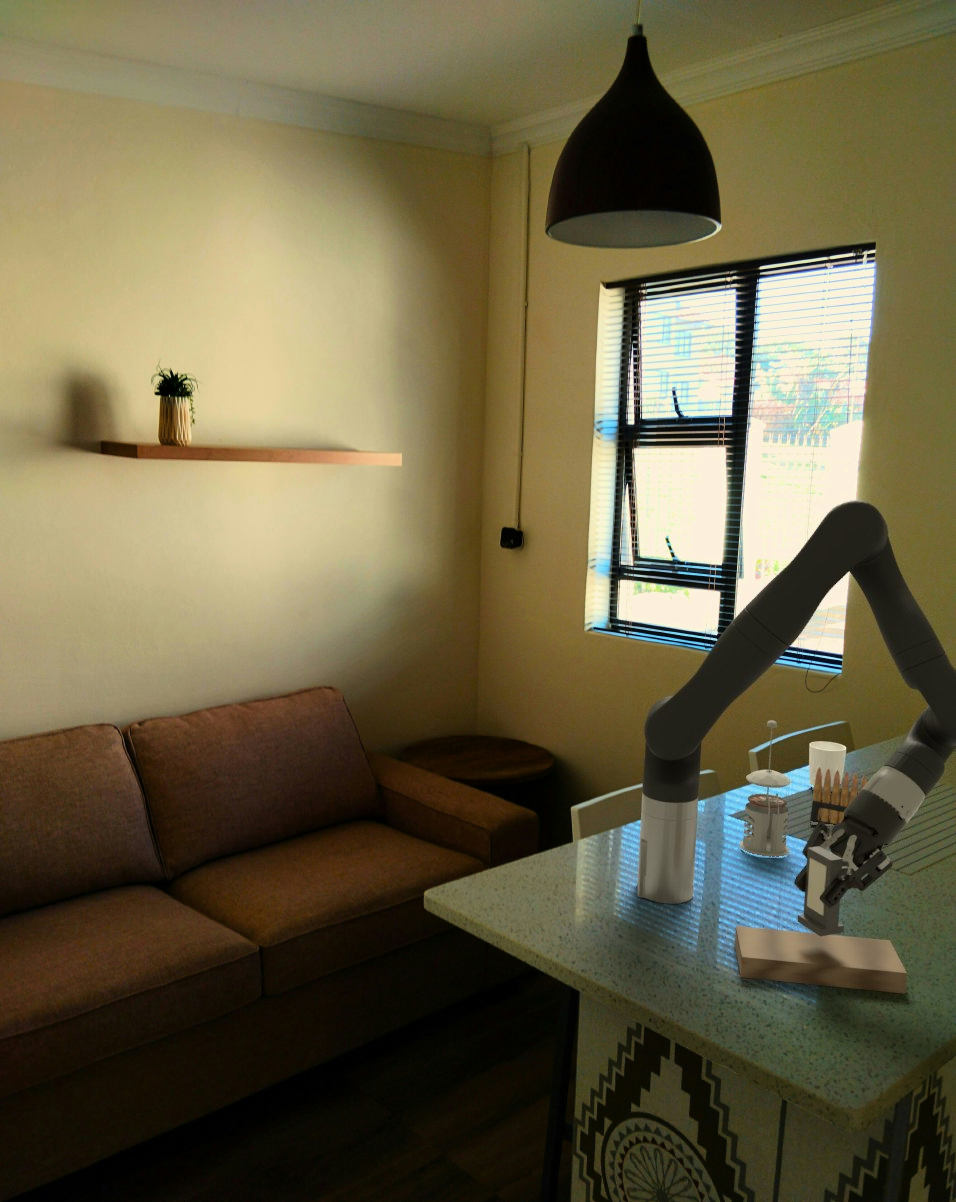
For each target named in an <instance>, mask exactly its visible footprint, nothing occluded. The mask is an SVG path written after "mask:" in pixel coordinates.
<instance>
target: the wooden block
mask: <svg viewBox="0 0 956 1202" xmlns="http://www.w3.org/2000/svg"><path fill="white" fill-rule="evenodd" d="M734 947H735V953H736V958H737V959H736V960H737V965H738V970H739V974H740V977H741V978H746V979H747V978H748V979H755V980H756V979H757V980H764V981H777V982H785V983H786V982H787V983H795V984H796V983H797V984H807V985H814V986H815V985H816V986H826V987H836V988H844V989H845V988H847V989H855V990H865V991H875V992H886V993H896V994H906V990H907V989H906V987H907V977H908V972H907V971H906V969H905V966H904V964H903V962H902V961H901V959H900V957H899V955H898V953H897V951H896V949H895V947H894V946H893V944H892V942H891V940H890V939H880V938H871V937H870V938H869V937H860V936H859V937H858V936H846V935H838V934H837V935H836V934H832V935H826V936H819V935H817V934H816V933H814V932H808V931H807V932H805V931H793V930H785V929H783V930H782V929H775V928H761V927H750V926H742V925H741V926H740V925H736V926H735V935H734Z"/></svg>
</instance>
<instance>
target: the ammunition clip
mask: <svg viewBox="0 0 956 1202" xmlns="http://www.w3.org/2000/svg"><path fill="white" fill-rule="evenodd" d="M858 778H859V777H858V774H857V773H854V774H853V776H852V780H851V787H850V777H849V774H848V772H847V771H845V772H844V774H843V778H842V784H841V790H840V775H839V771H838V770H837V771H836V773H835V777H834V784H833V789H832V793H831V774H830V770H829V769H828V770H827V772H826V775H825V781H824V787H823V792H822V773H821V769H820V767H819V768H818V770H817V773H816V780H815V785H814V790H813V793H812V801H811V802H812V803H811V811H810V819H809V822H810V821H813V822H818V823H819V822H824V823H825V824H833V825H837V824H839V823H840V822H841V821H842V820H843V818H844V810H845V809H846V808H847V807H848V805H849V804H850V803H851V802H852V800H853V799H854V798H855V797H856V796H857V794H858V793H859V792H860V791H861V790H862V788H863V787H864V786H865V785H866V783H867V782H868V781H867V780H868V779H867V776H866V775H863V776H862V779H861V783H860V789H859V780H858ZM849 790H850V791H849ZM859 790H860V791H859Z"/></svg>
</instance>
